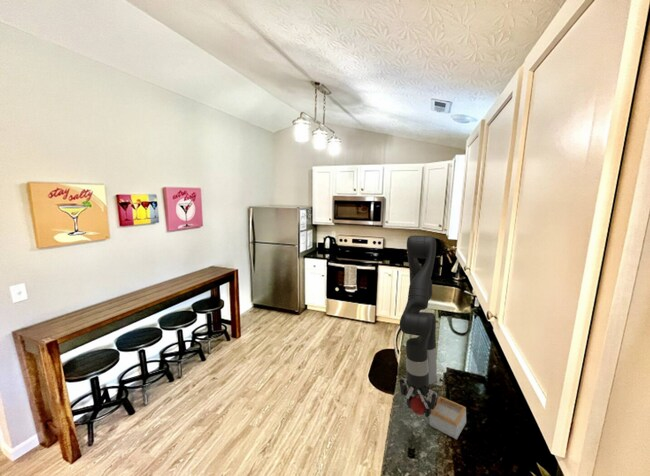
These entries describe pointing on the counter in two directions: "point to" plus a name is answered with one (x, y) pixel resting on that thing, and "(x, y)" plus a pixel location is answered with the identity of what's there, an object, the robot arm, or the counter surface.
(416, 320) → the robot arm
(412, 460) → the counter surface
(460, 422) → the wooden tray
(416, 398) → the onion
